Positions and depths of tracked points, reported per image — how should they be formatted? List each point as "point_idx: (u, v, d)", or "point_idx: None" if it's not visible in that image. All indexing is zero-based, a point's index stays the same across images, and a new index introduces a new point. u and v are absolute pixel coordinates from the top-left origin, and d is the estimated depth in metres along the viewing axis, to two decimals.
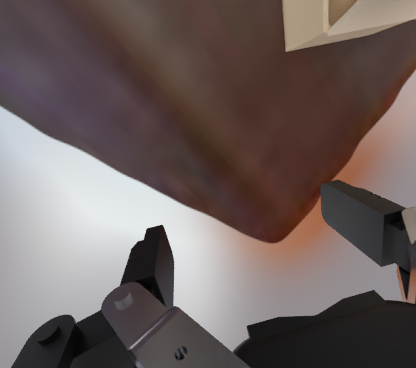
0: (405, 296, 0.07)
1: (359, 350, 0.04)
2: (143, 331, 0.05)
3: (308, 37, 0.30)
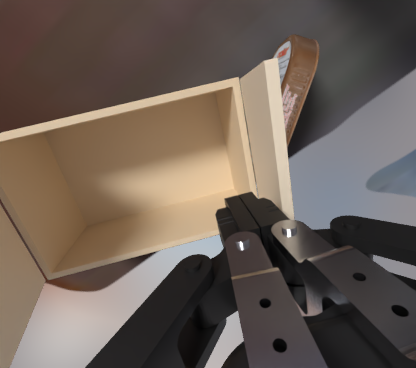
0: (302, 310, 0.07)
1: (359, 350, 0.04)
2: (247, 272, 0.07)
3: None
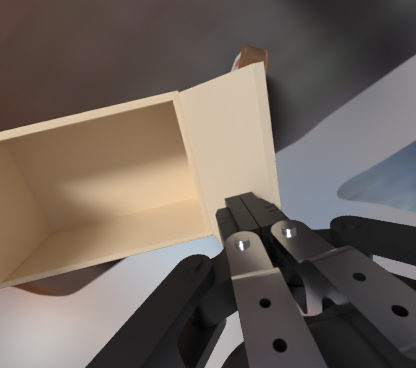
0: (302, 310, 0.07)
1: (359, 350, 0.04)
2: (247, 272, 0.07)
3: None
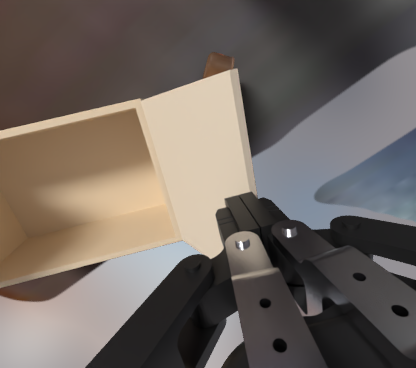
0: (302, 310, 0.07)
1: (359, 350, 0.04)
2: (247, 272, 0.07)
3: None
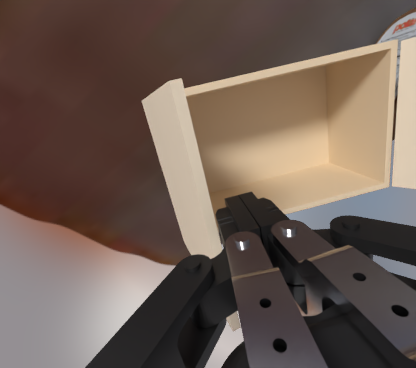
0: (302, 310, 0.07)
1: (359, 350, 0.04)
2: (247, 272, 0.07)
3: None
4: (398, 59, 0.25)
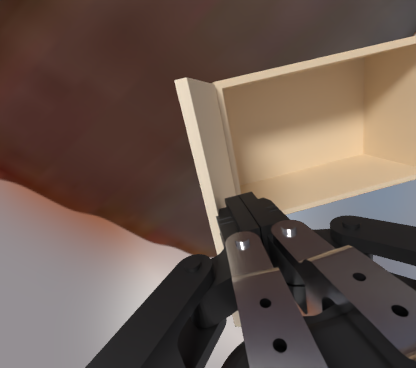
0: (302, 310, 0.07)
1: (359, 350, 0.04)
2: (247, 272, 0.07)
3: None
4: None
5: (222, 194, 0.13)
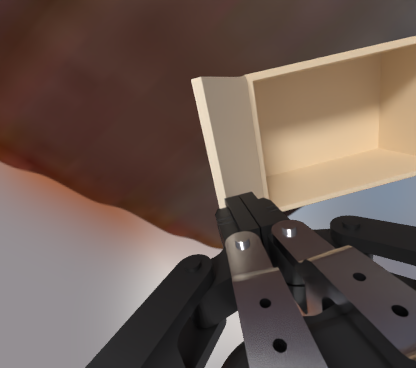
0: (302, 310, 0.07)
1: (359, 350, 0.04)
2: (247, 272, 0.07)
3: None
4: None
5: (237, 181, 0.15)
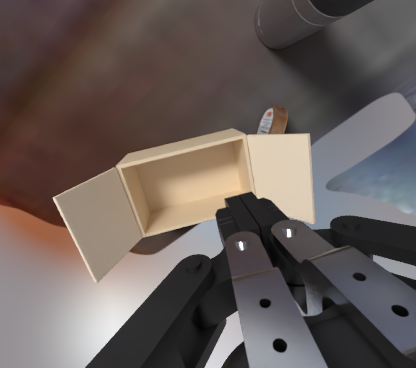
0: (302, 310, 0.07)
1: (359, 350, 0.04)
2: (247, 272, 0.07)
3: (122, 160, 0.41)
4: None
5: (91, 228, 0.32)
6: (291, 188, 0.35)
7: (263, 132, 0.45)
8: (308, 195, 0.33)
